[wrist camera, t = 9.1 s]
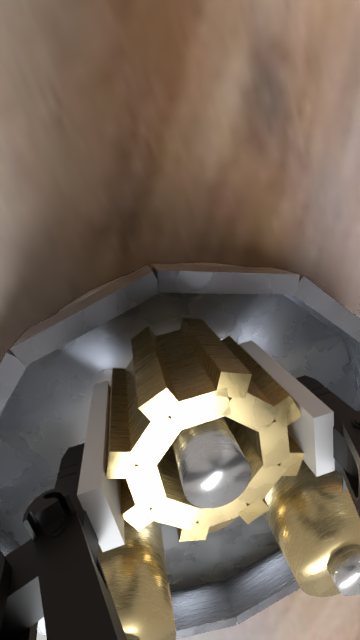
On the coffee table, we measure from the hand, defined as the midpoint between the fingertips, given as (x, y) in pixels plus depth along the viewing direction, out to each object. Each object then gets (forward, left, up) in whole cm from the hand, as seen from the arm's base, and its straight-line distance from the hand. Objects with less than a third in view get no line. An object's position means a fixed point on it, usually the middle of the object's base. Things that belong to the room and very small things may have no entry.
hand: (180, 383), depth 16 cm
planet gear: (0, 0, 0) cm, 0 cm away
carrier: (+5, +5, -3) cm, 8 cm away
